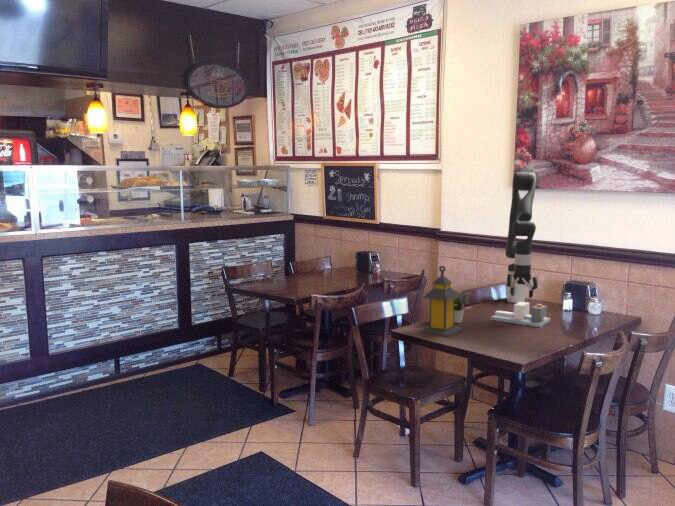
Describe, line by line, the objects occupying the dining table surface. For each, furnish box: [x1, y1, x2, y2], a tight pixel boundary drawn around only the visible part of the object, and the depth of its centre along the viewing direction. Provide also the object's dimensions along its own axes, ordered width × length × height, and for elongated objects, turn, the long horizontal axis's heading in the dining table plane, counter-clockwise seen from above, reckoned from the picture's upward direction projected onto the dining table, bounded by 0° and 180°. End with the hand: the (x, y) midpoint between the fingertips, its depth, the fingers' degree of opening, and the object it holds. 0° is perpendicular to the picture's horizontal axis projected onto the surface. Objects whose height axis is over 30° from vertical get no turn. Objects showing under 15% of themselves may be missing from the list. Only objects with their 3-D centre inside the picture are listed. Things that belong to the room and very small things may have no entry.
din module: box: [513, 301, 530, 320], centre depth 288 cm, size 8×4×7 cm, turn 142°
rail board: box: [490, 303, 551, 328], centre depth 288 cm, size 14×24×9 cm, turn 52°
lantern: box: [421, 265, 463, 338], centre depth 271 cm, size 14×14×30 cm
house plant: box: [454, 288, 472, 324], centre depth 286 cm, size 14×14×16 cm
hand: (521, 296), depth 287 cm, fingers open, 8 cm apart
